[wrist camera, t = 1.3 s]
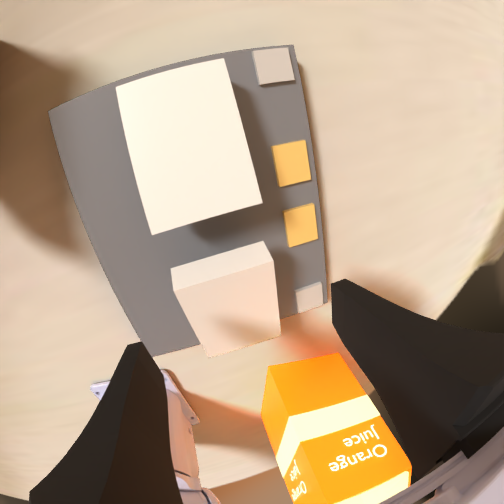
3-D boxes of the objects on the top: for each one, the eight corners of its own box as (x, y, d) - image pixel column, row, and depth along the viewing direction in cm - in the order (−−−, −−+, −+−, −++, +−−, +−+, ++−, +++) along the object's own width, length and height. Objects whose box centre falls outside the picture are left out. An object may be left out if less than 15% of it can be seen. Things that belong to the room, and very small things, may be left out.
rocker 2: (273, 317, 20) (281, 335, 19) (204, 338, 19) (208, 358, 18) (263, 240, 15) (273, 260, 14) (170, 268, 15) (173, 290, 14)
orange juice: (339, 351, 28) (444, 512, 10) (321, 401, 32) (393, 536, 14) (266, 365, 26) (353, 564, 8) (258, 415, 30) (318, 569, 12)
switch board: (318, 291, 23) (334, 311, 21) (151, 342, 21) (150, 368, 19) (283, 49, 15) (301, 40, 12) (58, 111, 13) (39, 111, 10)
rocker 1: (255, 201, 14) (262, 202, 13) (156, 230, 14) (152, 235, 12) (220, 70, 13) (223, 58, 11) (123, 97, 12) (115, 87, 10)
